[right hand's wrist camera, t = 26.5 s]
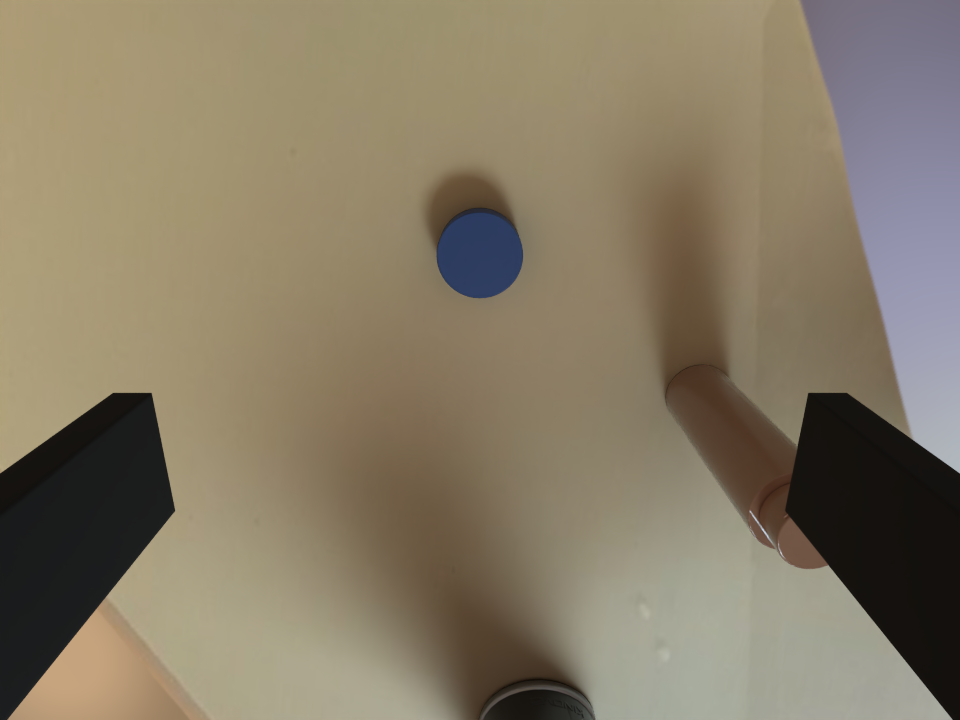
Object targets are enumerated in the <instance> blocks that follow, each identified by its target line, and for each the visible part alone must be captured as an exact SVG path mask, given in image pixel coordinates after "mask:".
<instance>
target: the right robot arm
mask: <svg viewBox="0 0 960 720" xmlns="http://www.w3.org/2000/svg"><path fill="white" fill-rule="evenodd" d="M174 512H175V507H174V502H173V497H172V492H171V487H170V482H169V478H168V473H167V468H166V463H165V458H164V453H163V448H162V443H161V438H160V433H159V428H158V423H157V418H156V413H155V408H154V403H153V398H152V393H113V394H111V395H110V396H108V397H107V398H105V399H104V400H103V401H101V402H100V403H98V404H97V405H96V406H94V407H93V408H91V409H90V410H89V411H87V412H86V413H84V414H83V415H82V416H80V417H79V418H77V419H76V420H75V421H73V422H72V423H70V424H69V425H68V426H66V427H65V428H63V429H62V430H61V431H59V432H58V433H56V434H55V435H54V436H52V437H51V438H49V439H48V440H47V441H45V442H44V443H42V444H41V445H40V446H38V447H37V448H35V449H34V450H33V451H31V452H30V453H28V454H27V455H26V456H24V457H23V458H21V459H20V460H19V461H17V462H16V463H14V464H13V465H12V466H10V467H9V468H7V469H6V470H5V471H3V472H2V473H0V720H7V719H8V718H9V717H10V716H11V714H12V713H13V712H14V711H15V709H16V708H17V707H18V706H19V704H20V703H21V702H22V701H23V699H24V698H25V697H26V696H27V694H28V693H29V692H30V691H31V689H32V688H33V687H34V686H35V684H36V683H37V682H38V681H39V679H40V678H41V677H42V676H43V675H44V673H45V672H46V671H47V670H48V668H49V667H50V666H51V665H52V663H53V662H54V661H55V660H56V658H57V657H58V656H59V655H60V653H61V652H62V651H63V650H64V648H65V647H66V646H67V645H68V643H69V642H70V641H71V640H72V638H73V637H74V636H75V635H76V633H77V632H78V631H79V630H80V628H81V627H82V626H83V625H84V623H85V622H86V621H87V620H88V619H89V617H90V616H91V615H92V614H93V612H94V611H95V610H96V609H97V607H98V606H99V605H100V604H101V602H102V601H103V600H104V599H105V597H106V596H107V595H108V594H109V592H110V591H111V590H112V589H113V587H114V586H115V585H116V584H117V582H118V581H119V580H120V579H121V577H122V576H123V575H124V574H125V573H126V571H127V570H128V569H129V568H130V566H131V565H132V564H133V563H134V561H135V560H136V559H137V558H138V556H139V555H140V554H141V553H142V551H143V550H144V549H145V548H146V546H147V545H148V544H149V543H150V541H151V540H152V539H153V538H154V536H155V535H156V534H157V533H158V531H159V530H160V529H161V528H162V526H163V525H164V524H165V523H166V521H167V520H168V519H169V518H170V517H171V515H172V514H173V513H174ZM785 512H786V513H787V514H788V515H789V517H790V518H791V519H792V520H793V522H794V523H795V524H796V525H797V526H798V528H799V529H800V530H801V531H802V533H803V534H804V535H805V536H806V538H807V539H808V540H809V541H810V543H811V544H812V545H813V546H814V548H815V549H816V550H817V551H818V553H819V554H820V555H821V556H822V558H823V559H824V560H825V561H826V563H827V564H828V565H829V566H830V568H831V569H832V570H833V571H834V573H835V574H836V575H837V576H838V577H839V579H840V580H841V581H842V582H843V584H844V585H845V586H846V587H847V589H848V590H849V591H850V592H851V594H852V595H853V596H854V597H855V599H856V600H857V601H858V602H859V604H860V605H861V606H862V607H863V609H864V610H865V611H866V612H867V614H868V615H869V616H870V617H871V619H872V620H873V621H874V622H875V624H876V625H877V626H878V627H879V628H880V630H881V631H882V632H883V633H884V635H885V636H886V637H887V638H888V640H889V641H890V642H891V643H892V645H893V646H894V647H895V648H896V650H897V651H898V652H899V653H900V655H901V656H902V657H903V658H904V660H905V661H906V662H907V663H908V665H909V666H910V667H911V668H912V670H913V671H914V672H915V673H916V675H917V676H918V677H919V678H920V680H921V681H922V682H923V683H924V684H925V686H926V687H927V688H928V689H929V691H930V692H931V693H932V694H933V696H934V697H935V698H936V699H937V701H938V702H939V703H940V704H941V706H942V707H943V708H944V709H945V711H946V712H947V713H948V714H949V716H950V717H951V718H952V719H953V720H960V473H958V472H957V471H955V470H954V469H953V468H951V467H950V466H948V465H947V464H946V463H944V462H943V461H941V460H940V459H939V458H937V457H936V456H934V455H933V454H932V453H930V452H929V451H927V450H926V449H925V448H923V447H922V446H920V445H919V444H918V443H916V442H915V441H913V440H912V439H911V438H909V437H908V436H906V435H905V434H904V433H902V432H901V431H899V430H898V429H897V428H895V427H894V426H892V425H891V424H890V423H888V422H887V421H885V420H884V419H883V418H881V417H880V416H878V415H877V414H876V413H874V412H873V411H871V410H870V409H869V408H867V407H866V406H864V405H863V404H862V403H860V402H859V401H857V400H856V399H855V398H853V397H852V396H850V395H849V394H847V393H808V398H807V403H806V408H805V413H804V418H803V423H802V428H801V433H800V438H799V443H798V448H797V453H796V458H795V463H794V468H793V473H792V477H791V482H790V487H789V492H788V497H787V502H786V507H785Z"/></svg>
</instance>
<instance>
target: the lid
mask: <svg viewBox="0 0 960 720" xmlns="http://www.w3.org/2000/svg"><path fill="white" fill-rule="evenodd" d="M522 261H523V250H522V244H521V241H520V238H519V236H518V233H517V231H516V229H515V227H514V226H513V224H512V223H511V222H510V221H509V220H508V219H507V218H506V217H505V216H503V215H502V214H500V213H498V212H496V211H494V210H491V209H486V208H474V209H469V210H466V211H464V212H461V213H459V214H458V215H456V216H455V217H454V218H453V219H452V220H450V222H449V223H448V224H447V225H446V227H445V228H444V230H443V232H442V235H441V237H440V240H439V243H438V248H437V263H438V267H439V270H440V273H441V275H442V277H443V278H444V280H445V281H446V282H447V283H448V285H449V286H450V287H452V288H453V289H454V290H455V291H457V292H459V293H461V294H463V295H465V296H468V297H473V298H487V297H491V296H495V295H497V294H499V293H501V292H503V291H504V290H506V289H507V288H508V287H509V286H510V285H511V284H512V283H513V282H514V281H515V279H516V278H517V276H518V274H519V272H520V269H521V266H522Z"/></svg>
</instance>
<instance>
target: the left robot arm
mask: <svg viewBox="0 0 960 720" xmlns="http://www.w3.org/2000/svg"><path fill="white" fill-rule="evenodd" d="M479 720H595V715H594V711H593V709H592V707H591V705H590V703H589V702H588V701H587V699H586V698H585V697H584V696H583V695H582V694H580V693H579V692H578V691H576V690H575V689H573V688H571V687H569V686H567V685H564V684H561V683H558V682H553V681H546V680H532V681H525V682H520V683H516V684H513V685H511V686H508V687H506V688H504V689H502V690H501V691H499V692H497V693H496V694H495V695H494V696H492V697H491V698H490V699H489V700H488V702H487V703H486V704H485V706H484V707H483V709H482V711H481V714H480V717H479Z"/></svg>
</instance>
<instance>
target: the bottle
mask: <svg viewBox="0 0 960 720" xmlns="http://www.w3.org/2000/svg"><path fill="white" fill-rule="evenodd" d="M666 404H667V407H668V410H669V411H670V413H671V414H672V416H673V417H674V419H675V420H676V422H677V423H678V425H679V426H680V428H681V429H682V431H683V432H684V434H685V435H686V437H687V438H688V440H689V441H690V443H691V444H692V446H693V447H694V448H695V450H696V451H697V453H698V454H699V456H700V457H701V459H702V460H703V462H704V463H705V465H706V466H707V468H708V469H709V471H710V472H711V474H712V475H713V477H714V478H715V479H716V481H717V482H718V484H719V485H720V487H721V488H722V490H723V491H724V493H725V494H726V496H727V497H728V499H729V500H730V502H731V503H732V505H733V506H734V508H735V509H736V511H737V512H738V513H739V515H740V516H741V518H742V519H743V521H744V522H745V524H746V525H747V527H748V528H749V530H750V531H751V533H752V534H753V535H754V537H755V538H756V539H757V540H758V541H759V542H761V543H762V544H764V545H766V546H768V547H770V548H773V549H776V550H777V552H778V553H779V554H780V556H781V557H782V558H783V559H784V560H785V561H786V562H787V563H789V564H791V565H793V566H795V567H798V568H803V569H816V568H821V567H824V566H827V565H828V564H827V563H826V561H825V560H824V559H823V558H822V556H821V555H820V554H819V553H818V551H817V550H816V549H815V548H814V546H813V545H812V544H811V543H810V541H809V540H808V539H807V538H806V536H805V535H804V534H803V533H802V531H801V530H800V529H799V528H798V526H797V525H796V524H795V523H794V522H793V520H792V519H791V518H790V517H789V515H788V514H787V513H786V512H785V507H786V502H787V497H788V492H789V487H790V482H791V477H792V473H793V468H794V463H795V458H796V453H797V448H798V446H797V445H796V444H795V443H794V442H793V441H791V440H790V439H789V438H788V437H787V436H786V435H785V434H784V433H783V432H782V431H781V430H780V429H779V428H778V427H777V426H776V425H775V424H774V423H773V422H772V421H771V420H770V419H769V418H768V417H767V416H766V415H765V414H764V413H763V412H762V411H761V410H760V409H759V408H758V407H757V406H756V405H755V404H754V403H753V402H752V401H751V400H750V399H749V398H748V397H747V396H746V395H745V394H744V393H743V392H742V391H741V390H740V389H739V388H738V387H737V386H736V385H735V384H734V383H733V382H732V381H731V380H730V379H729V378H728V377H727V376H726V375H725V374H724V373H723V372H722V371H720V370H719V369H717V368H715V367H713V366H709V365H696V366H692V367H689V368H686V369H685V370H683V371H681V372H680V373H678V374H677V375H676V376H675V377H674V378H673V380H672V381H671V382H670V384H669V386H668V389H667V393H666Z"/></svg>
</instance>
